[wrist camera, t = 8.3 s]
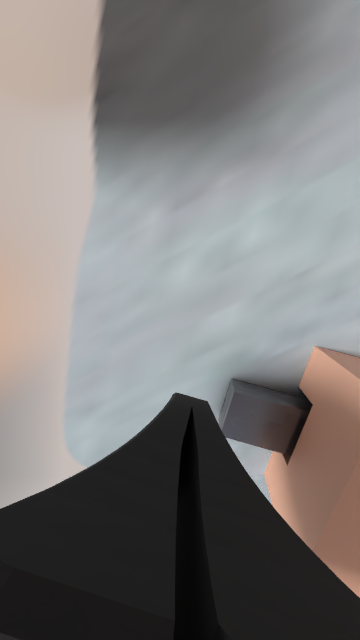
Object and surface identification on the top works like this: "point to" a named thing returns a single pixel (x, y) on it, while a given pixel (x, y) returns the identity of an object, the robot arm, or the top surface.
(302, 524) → the block
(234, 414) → the rail
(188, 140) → the top surface
